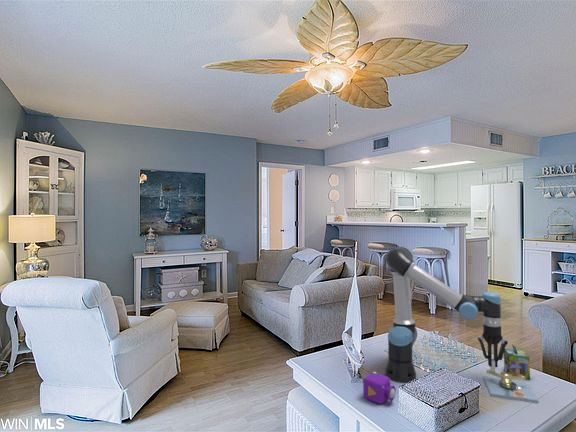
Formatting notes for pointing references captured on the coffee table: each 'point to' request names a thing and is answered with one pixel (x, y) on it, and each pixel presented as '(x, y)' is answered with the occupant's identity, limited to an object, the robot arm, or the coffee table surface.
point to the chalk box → (516, 362)
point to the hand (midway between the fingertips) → (493, 373)
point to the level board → (509, 390)
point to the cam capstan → (508, 380)
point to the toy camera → (378, 388)
